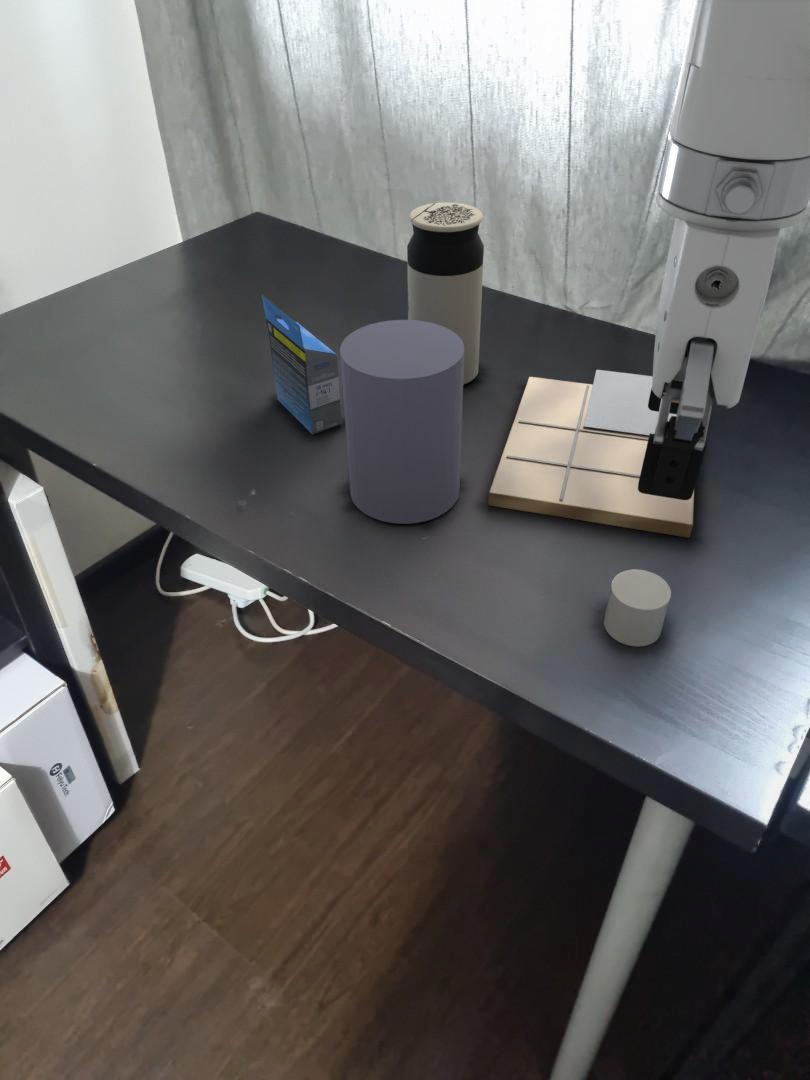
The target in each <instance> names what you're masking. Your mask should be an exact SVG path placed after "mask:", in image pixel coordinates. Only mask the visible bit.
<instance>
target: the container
mask: <svg viewBox="0 0 810 1080" xmlns="http://www.w3.org/2000/svg"><path fill="white" fill-rule="evenodd" d="M339 353H340V354H339V355H340V367H341V380H342V395H343V409H344V422H345V423H344V424H345V435H346V450H347V451H346V452H347V463H348V464H347V465H348V479H349V491H350V498H351V501H352V503H353V504H354V505H355V506H356V508H357V509H358V510H359V511H361V512H362V513H363V514H365V515H366V516H369V517H371V518H373V519H374V520H378V521H381V522H383V523H384V522H385V523H391V524H398V525H406V524H407V525H408V524H419V523H423V522H427V521H430V520H433V519H435V518H438V517H440V516H441V515H444V514H446V512H448V511H449V510H450V509H451V508H453V506H454V505H455V504H456V502H457V501H458V499H459V496H460V484H461V481H460V480H461V457H462V429H463V428H462V427H463V426H462V425H463V400H464V384H463V372H464V344H463V341H462V340H461V338H460V337H459V336H458V335H457V334H456V333H454V332H453V331H451V330H449V329H447V328H445V327H443V326H440V325H437V324H434V323H430V322H425V321H417V320H408V319H394V320H393V319H391V320H385V321H379V322H375V323H371V324H367V325H365V326H362V327H359V328H358V329H356V330H354V331H353V332H351V333H350V334H348V335H347V336H346V337H345V338H344V339H343V341H342V342H341V344H340V347H339Z"/></svg>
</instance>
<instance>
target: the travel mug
mask: <svg viewBox="0 0 810 1080" xmlns="http://www.w3.org/2000/svg"><path fill="white" fill-rule="evenodd" d="M483 219H484V215H483V212H482V211H481V210H480V209H479V208H477V207H475V206H472V205H469V204H466V203H460V202H451V201H450V202H448V201H447V202H446V201H445V202H433V203H427V204H423V205H421V206H418V207H416V208H414V209H413V210H412V211H410V213H409V215H408V220H409V222H410V223H411V226H412V231H413V233H412V235H411V237H410V240H409V241H408V243H407V245H406V252H407V253H406V255H407V317H408V318H407V320H417V321H425V322H430V323H434V324H437V325H440V326H443V327H445V328H447V329H449V330H451V331H453V332H454V333H456V334H457V335H458V336H459V337H460V338H461V340H462V341H463V344H464V372H463V385H465V384H468V383H470V382H471V381H473V380H474V379H476V377H478V374H479V363H480V344H481V343H480V341H481V323H482V322H481V321H482V319H481V318H482V298H483V276H484V275H483V274H484V253H485V245H484V242H483V241H482V238H481V236H480V234H479V229H480V224H481V223H482V222H483Z"/></svg>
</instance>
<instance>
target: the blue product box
mask: <svg viewBox="0 0 810 1080" xmlns="http://www.w3.org/2000/svg"><path fill="white" fill-rule="evenodd" d="M261 297H262V303H263V309H264V315H265V320H266V327H267V333H268V341H269V349H270V355H271V363H272V371H273V378H274V385H275V392H276V400H277V401H278V402H279V403H280V404H281V405H282V406H283V407H284V408H285V409H286V410H287V411H288V412H289V413H290V414H291V415H292V417H294V419H296V421H298V422H299V423H300V424H301V425H302V426H303V427H304V428H305V429H306V430H307V431H308V433H310V434H311V435H316V434H319V433H323V432H326V431H328V430H330V429H334V428H336V427H339V426H341V425H342V424H343V420H342V419H343V418H342V409H341V393H340V377H339V366H338V365H339V364H338V363H339V362H338V354H337V353H336V352H334V351H333V350H332V349H331V348H330V347H328V346H327V345H326V344H325V343H323V342H322V340H320V339H318V338H317V337H316V336H314V334H312V333H311V332H310V331H309V330H308V329H306V328H305V327H304V326H302V325H301V324H300V323H299V322H298V321H295V320H294V319H293V318H291V317H290V316H289V315H288V314H286V312H284V311H283V310H282V309H281V308H279V307H278V306H277V305H276V304H275V303H273V301H271V300H270V299H268V298H267V297H266V296H265V295H264V294H261Z"/></svg>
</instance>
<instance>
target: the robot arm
mask: <svg viewBox="0 0 810 1080" xmlns="http://www.w3.org/2000/svg"><path fill="white" fill-rule="evenodd" d="M674 100H675V101H674V105H673V110H672V116H671V121H670V125H669V129H668V130H669V133H668V136H667V141H666V147H665V152H664V157H663V161H662V166H661V172H660V176H659V177H660V178H659V183H658V188H657V192H656V197H655V201H656V204H657V206H658V207H659V208H660V209H661V210H662V211H663V212H664V213H666V214H668V215H669V216H671V217H673V218H675V220H674V224H673V229H672V233H671V238H670V243H669V249H668V253H667V258H666V264H665V269H664V275H663V280H662V286H661V291H660V297H659V304H658V310H657V317H656V327H655V338H654V349H653V362H652V376H653V378H652V388H651V392H650V397H649V401H648V408H649V409H650V410H652V411H657V412H659V413H658V419H657V424H656V429H655V434H651V433H650V434H649V439H648V443H647V447H646V452H645V456H644V460H643V465H642V469H641V474H640V478H639V482H638V491H639V492H641V493H643V494H649V495H655V496H661V497H667V498H673V499H680V500H689V499H690V498H691V497H692V495H693V491H694V492H695V488H696V484H697V480H698V477H699V474H700V470H701V467H702V463H703V460H704V456H705V453H706V450H707V441H706V439H707V435H708V430H709V425H710V420H711V414H712V409H713V403H714V401H715V402H716V405H717V406H724V407H725V408H726V409H732V408H733V407H735V406H737V404H738V403H739V402H740V399H741V395H742V391H743V388H744V383H745V379H746V376H747V372H748V369H749V364H750V361H751V358H752V353H753V350H754V345H755V341H756V337H757V334H758V331H759V326H760V322H761V318H762V315H763V311H764V308H765V303H766V299H767V295H768V291H769V287H770V282H771V279H772V275H773V270H774V266H775V259H776V256H777V250H778V247H779V246H778V245H779V238H780V233H781V229H786V228H789V227H792V226H794V225H797V224H798V223H799V222H801V220H802V221H803V219H804V216H805V213H806V211H807V207H808V204H809V200H810V0H694V1H693V6H692V11H691V17H690V21H689V27H688V32H687V37H686V43H685V47H684V53H683V59H682V63H681V69H680V75H679V78H678V84H677V90H676V94H675V98H674ZM669 413H671V414H677V415H676V416H671V418H670V419H669V421H668V416H669Z"/></svg>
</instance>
